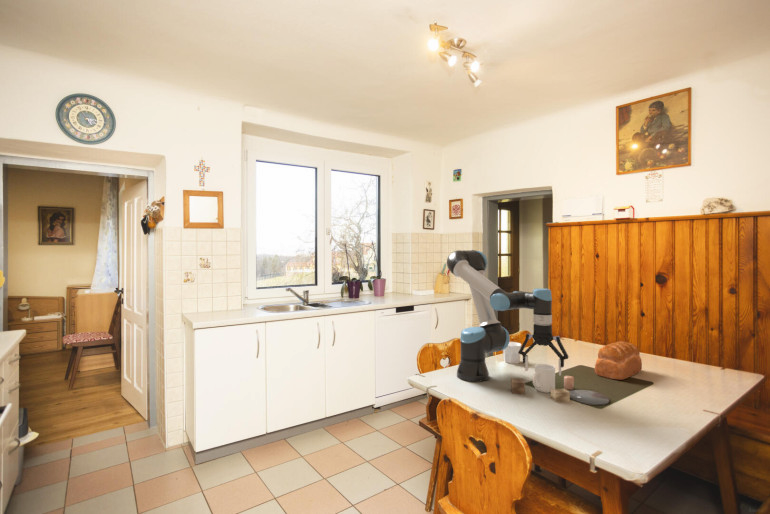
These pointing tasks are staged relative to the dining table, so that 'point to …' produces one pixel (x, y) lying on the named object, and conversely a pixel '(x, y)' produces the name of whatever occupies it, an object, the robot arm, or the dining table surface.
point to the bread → (618, 361)
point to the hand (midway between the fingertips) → (543, 372)
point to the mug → (544, 378)
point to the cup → (512, 353)
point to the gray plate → (589, 397)
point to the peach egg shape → (569, 382)
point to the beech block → (560, 395)
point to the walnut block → (517, 386)
